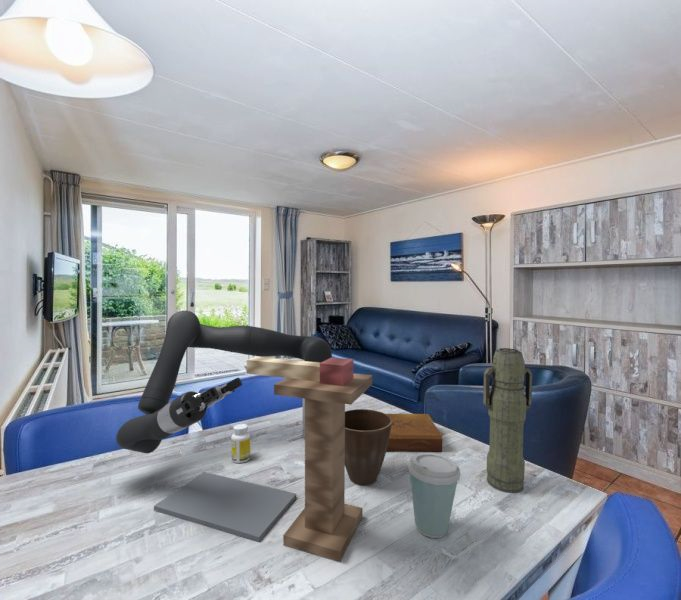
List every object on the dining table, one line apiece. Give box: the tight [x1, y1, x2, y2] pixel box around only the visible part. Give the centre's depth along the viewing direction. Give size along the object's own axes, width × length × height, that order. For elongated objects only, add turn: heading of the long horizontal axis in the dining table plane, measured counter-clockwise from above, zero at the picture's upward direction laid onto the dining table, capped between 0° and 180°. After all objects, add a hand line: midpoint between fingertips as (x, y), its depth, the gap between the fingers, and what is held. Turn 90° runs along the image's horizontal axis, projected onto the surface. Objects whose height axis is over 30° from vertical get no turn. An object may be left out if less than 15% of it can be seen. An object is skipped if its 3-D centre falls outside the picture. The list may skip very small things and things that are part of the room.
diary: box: [386, 413, 443, 453], centre depth 120 cm, size 23×19×6 cm
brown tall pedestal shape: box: [273, 372, 373, 563], centre depth 75 cm, size 16×14×32 cm
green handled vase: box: [482, 347, 533, 494], centre depth 93 cm, size 9×12×35 cm
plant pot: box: [345, 408, 392, 486], centre depth 96 cm, size 15×15×16 cm
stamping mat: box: [153, 471, 297, 543], centre depth 85 cm, size 28×16×1 cm, turn 69°
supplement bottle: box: [230, 423, 251, 464], centre depth 106 cm, size 5×5×10 cm
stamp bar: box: [246, 356, 354, 386], centre depth 77 cm, size 23×6×4 cm, turn 69°
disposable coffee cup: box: [407, 452, 461, 539], centre depth 76 cm, size 11×11×15 cm
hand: (228, 386), depth 83 cm, fingers open, 8 cm apart
